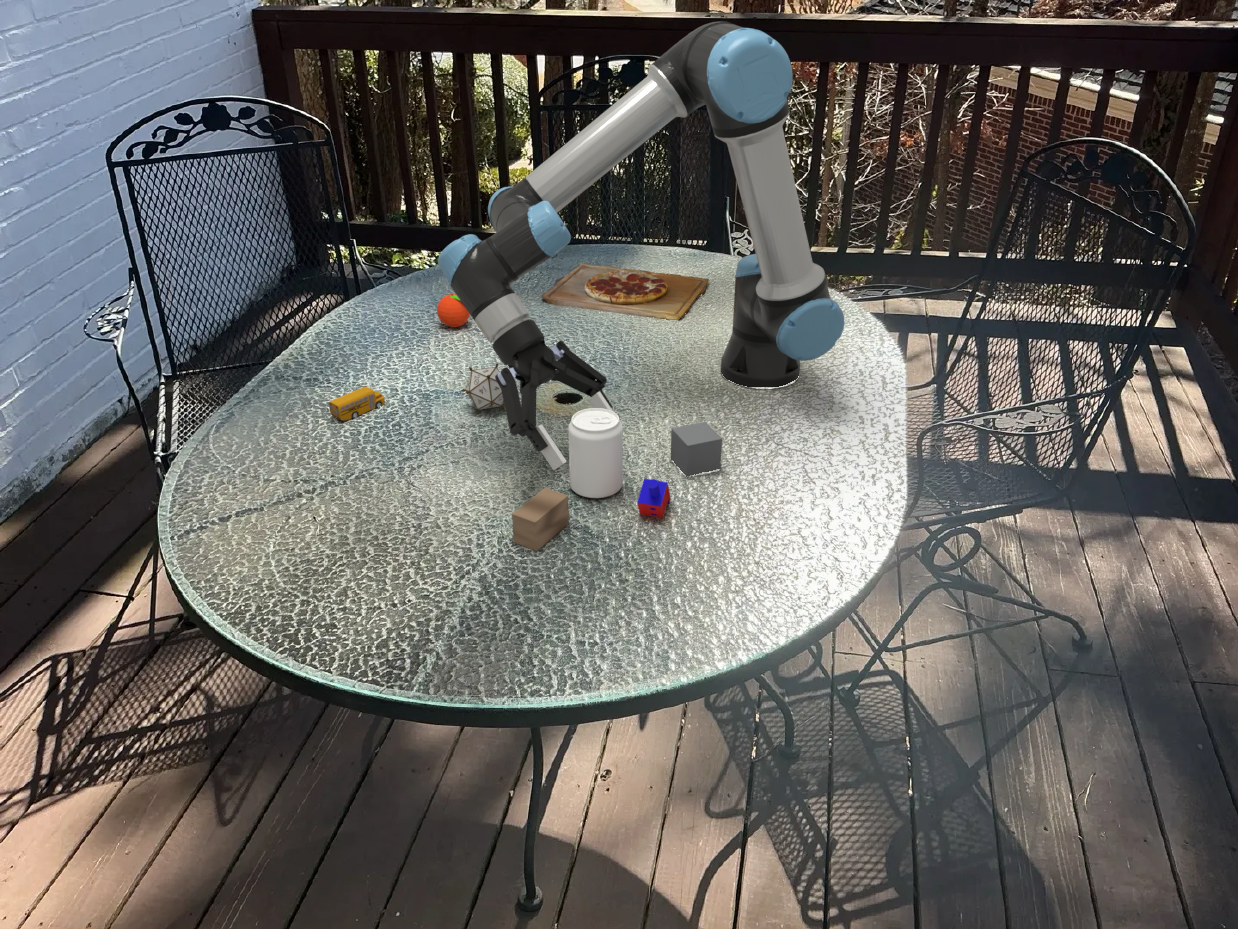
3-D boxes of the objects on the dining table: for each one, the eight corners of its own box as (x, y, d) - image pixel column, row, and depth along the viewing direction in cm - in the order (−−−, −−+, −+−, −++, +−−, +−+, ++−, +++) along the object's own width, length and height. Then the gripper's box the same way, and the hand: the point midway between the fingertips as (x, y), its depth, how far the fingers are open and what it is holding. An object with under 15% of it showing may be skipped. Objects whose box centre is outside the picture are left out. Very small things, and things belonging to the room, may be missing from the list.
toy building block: (641, 520, 141) (634, 493, 134) (648, 496, 143) (642, 468, 136) (664, 524, 140) (659, 496, 133) (670, 499, 142) (665, 472, 135)
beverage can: (569, 474, 149) (567, 407, 142) (620, 472, 149) (620, 405, 143) (571, 502, 142) (569, 433, 136) (624, 500, 142) (624, 431, 136)
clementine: (481, 325, 201) (479, 293, 197) (460, 335, 196) (457, 303, 192) (453, 317, 205) (450, 286, 201) (431, 327, 200) (428, 296, 196)
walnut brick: (546, 516, 139) (545, 487, 136) (568, 524, 137) (568, 495, 134) (513, 543, 133) (511, 513, 130) (536, 551, 131) (535, 522, 129)
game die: (496, 430, 169) (500, 405, 160) (453, 411, 169) (454, 385, 159) (516, 390, 173) (521, 364, 164) (473, 372, 172) (477, 344, 163)
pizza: (533, 307, 211) (532, 292, 209) (575, 267, 234) (575, 253, 232) (684, 326, 202) (685, 310, 200) (713, 282, 225) (713, 268, 223)
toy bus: (386, 405, 170) (383, 386, 168) (341, 425, 163) (338, 405, 161) (375, 400, 171) (372, 381, 169) (330, 419, 165) (327, 400, 163)
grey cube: (703, 453, 154) (705, 421, 151) (720, 471, 150) (722, 438, 147) (670, 460, 153) (671, 428, 149) (686, 478, 148) (687, 445, 145)
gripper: (552, 318, 153) (624, 426, 153) (439, 370, 136) (521, 491, 136) (576, 295, 148) (652, 406, 148) (462, 345, 131) (547, 472, 131)
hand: (589, 447), depth 142 cm, fingers open, 13 cm apart
